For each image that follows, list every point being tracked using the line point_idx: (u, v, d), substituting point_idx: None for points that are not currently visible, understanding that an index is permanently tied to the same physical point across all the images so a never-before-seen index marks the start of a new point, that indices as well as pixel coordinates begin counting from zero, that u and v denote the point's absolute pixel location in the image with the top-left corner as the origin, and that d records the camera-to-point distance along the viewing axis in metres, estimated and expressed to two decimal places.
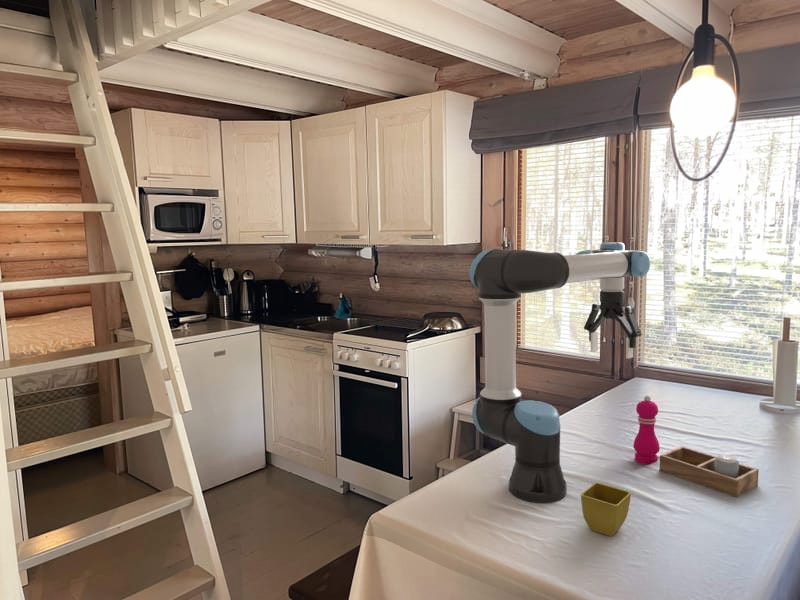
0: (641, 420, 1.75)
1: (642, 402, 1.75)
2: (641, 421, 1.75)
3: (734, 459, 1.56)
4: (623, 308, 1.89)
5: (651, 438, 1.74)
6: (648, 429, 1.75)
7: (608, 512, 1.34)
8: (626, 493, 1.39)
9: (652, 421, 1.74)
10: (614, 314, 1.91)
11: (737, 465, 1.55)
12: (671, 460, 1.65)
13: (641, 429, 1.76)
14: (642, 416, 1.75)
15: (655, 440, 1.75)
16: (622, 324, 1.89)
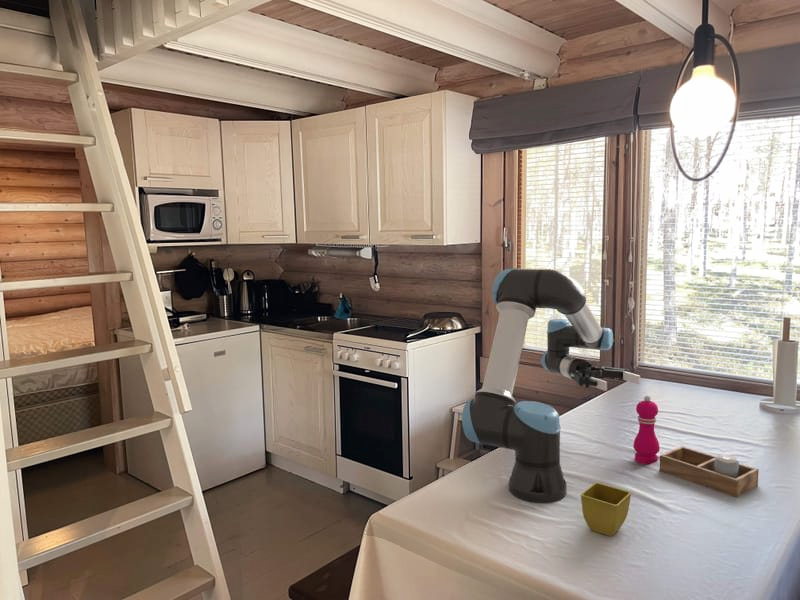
0: (641, 420, 1.75)
1: (642, 402, 1.75)
2: (641, 421, 1.75)
3: (734, 459, 1.56)
4: None
5: (651, 438, 1.74)
6: (648, 429, 1.75)
7: (608, 512, 1.34)
8: (626, 493, 1.39)
9: (652, 421, 1.74)
10: (597, 367, 1.97)
11: (737, 465, 1.55)
12: (671, 460, 1.65)
13: (641, 429, 1.76)
14: (642, 416, 1.75)
15: (655, 440, 1.75)
16: (610, 369, 1.95)
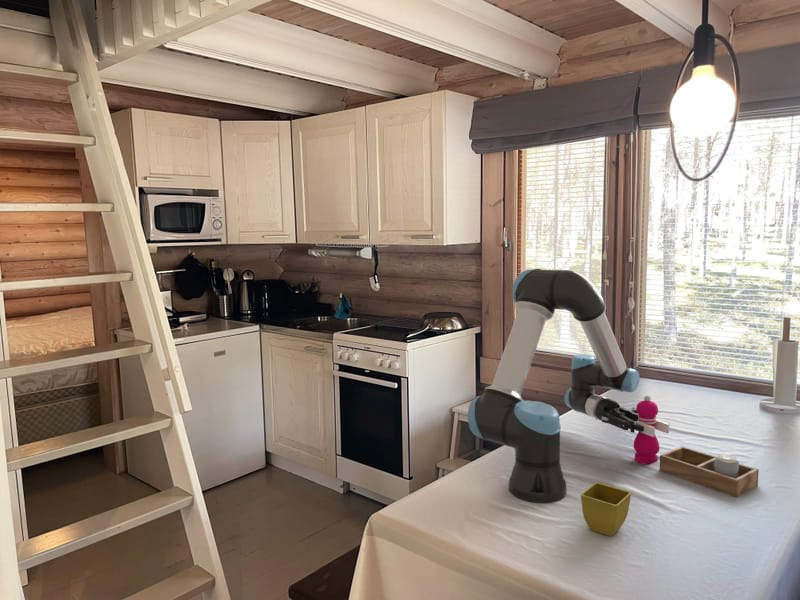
0: (641, 419, 1.75)
1: (642, 402, 1.75)
2: (641, 421, 1.75)
3: (734, 459, 1.56)
4: None
5: (651, 438, 1.74)
6: None
7: (608, 512, 1.34)
8: (626, 493, 1.39)
9: (652, 421, 1.74)
10: (625, 409, 1.86)
11: (737, 465, 1.55)
12: (671, 460, 1.65)
13: None
14: (642, 416, 1.75)
15: (655, 440, 1.75)
16: (637, 414, 1.83)
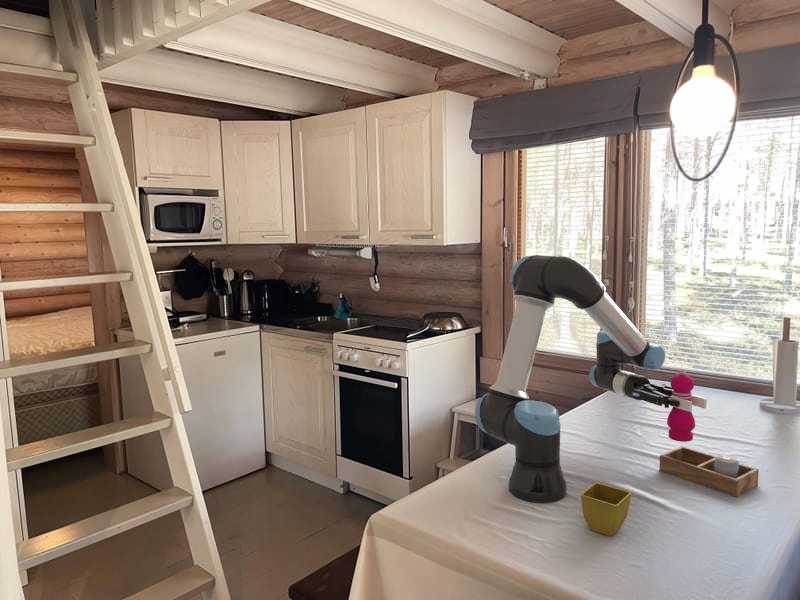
0: (676, 394, 1.66)
1: (677, 376, 1.66)
2: (676, 396, 1.66)
3: (734, 459, 1.56)
4: None
5: (686, 413, 1.65)
6: None
7: (608, 512, 1.34)
8: (626, 493, 1.39)
9: (688, 395, 1.65)
10: (656, 385, 1.77)
11: (737, 465, 1.55)
12: (671, 460, 1.65)
13: None
14: (677, 390, 1.65)
15: (691, 416, 1.65)
16: (670, 389, 1.74)
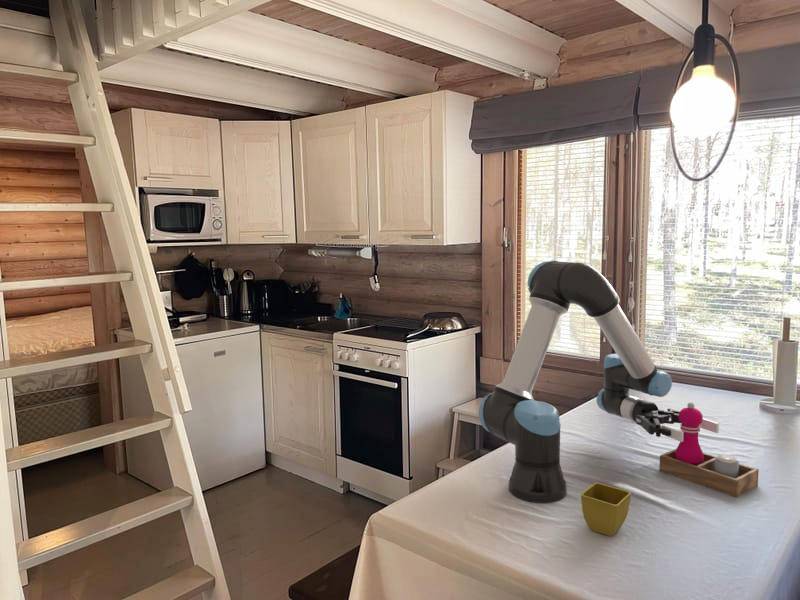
0: (684, 428, 1.64)
1: (685, 409, 1.64)
2: (684, 430, 1.64)
3: (734, 459, 1.56)
4: None
5: (695, 447, 1.63)
6: (692, 438, 1.63)
7: (608, 512, 1.34)
8: (626, 493, 1.39)
9: (696, 430, 1.63)
10: (665, 411, 1.75)
11: (737, 465, 1.55)
12: (671, 460, 1.65)
13: (684, 438, 1.65)
14: (685, 424, 1.63)
15: (699, 450, 1.63)
16: None
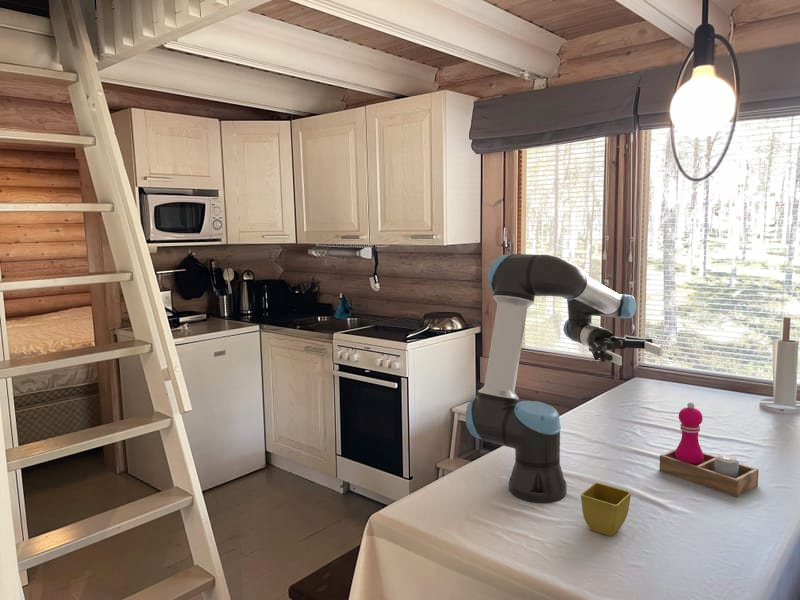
0: (684, 428, 1.64)
1: (685, 409, 1.64)
2: (684, 430, 1.64)
3: (734, 459, 1.56)
4: None
5: (695, 447, 1.63)
6: (692, 438, 1.63)
7: (608, 512, 1.34)
8: (626, 493, 1.39)
9: (696, 430, 1.63)
10: (617, 337, 1.86)
11: (737, 465, 1.55)
12: (671, 460, 1.65)
13: (684, 438, 1.65)
14: (685, 424, 1.64)
15: (699, 450, 1.63)
16: (631, 339, 1.84)
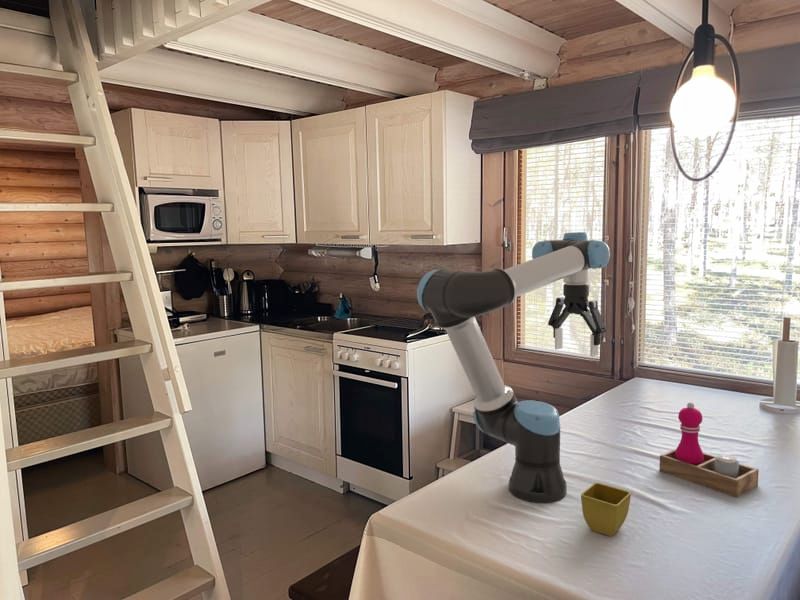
0: (684, 428, 1.64)
1: (685, 409, 1.64)
2: (684, 430, 1.64)
3: (734, 459, 1.56)
4: (587, 302, 1.77)
5: (694, 447, 1.63)
6: (692, 438, 1.63)
7: (608, 512, 1.34)
8: (626, 493, 1.39)
9: (696, 430, 1.63)
10: (578, 309, 1.79)
11: (737, 465, 1.55)
12: (671, 460, 1.65)
13: (684, 438, 1.65)
14: (685, 424, 1.64)
15: (699, 450, 1.63)
16: (586, 320, 1.77)
